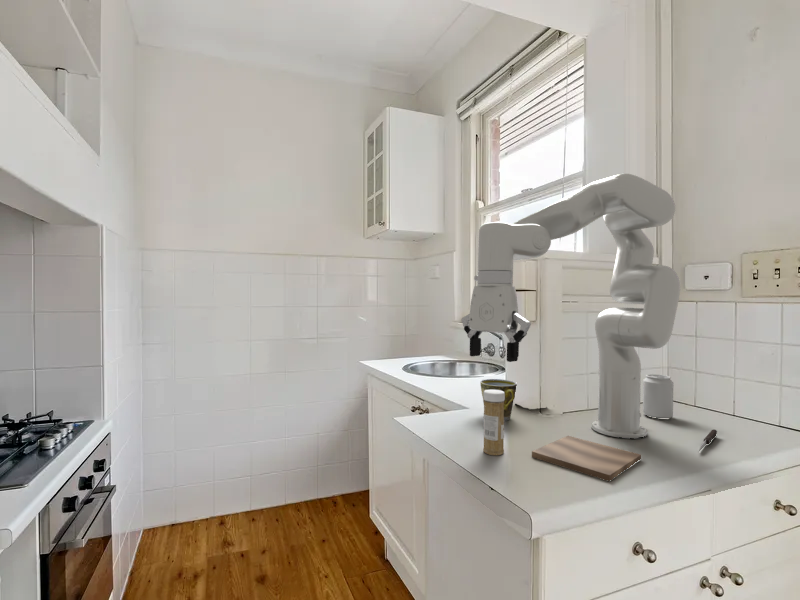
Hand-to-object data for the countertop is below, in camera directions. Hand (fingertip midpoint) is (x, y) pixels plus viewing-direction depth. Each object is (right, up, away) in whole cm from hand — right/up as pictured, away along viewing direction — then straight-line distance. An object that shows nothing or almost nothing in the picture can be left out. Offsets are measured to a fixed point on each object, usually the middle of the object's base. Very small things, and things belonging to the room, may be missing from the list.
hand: (492, 358), depth 93 cm
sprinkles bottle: (0, -21, 0) cm, 21 cm away
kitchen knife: (+51, -22, +6) cm, 56 cm away
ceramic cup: (+8, -21, +26) cm, 34 cm away
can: (+54, -21, +30) cm, 65 cm away
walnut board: (+19, -21, -3) cm, 28 cm away
